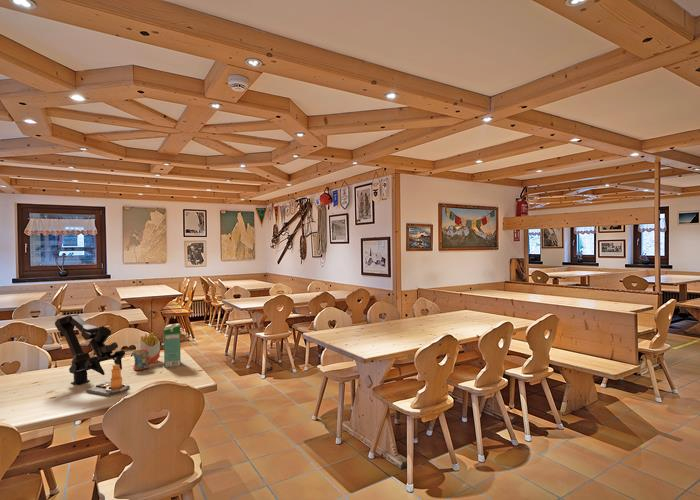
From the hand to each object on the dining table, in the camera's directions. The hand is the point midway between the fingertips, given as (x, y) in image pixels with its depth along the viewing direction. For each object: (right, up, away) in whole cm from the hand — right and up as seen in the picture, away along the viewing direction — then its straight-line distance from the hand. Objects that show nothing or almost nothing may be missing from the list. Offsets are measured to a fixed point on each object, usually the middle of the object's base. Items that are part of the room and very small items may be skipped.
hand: (112, 372), depth 211 cm
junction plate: (-2, -10, +1) cm, 10 cm away
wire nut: (+2, -8, -1) cm, 9 cm away
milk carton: (+11, -9, +45) cm, 47 cm away
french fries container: (-5, -9, +50) cm, 51 cm away
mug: (-3, -9, +37) cm, 38 cm away
